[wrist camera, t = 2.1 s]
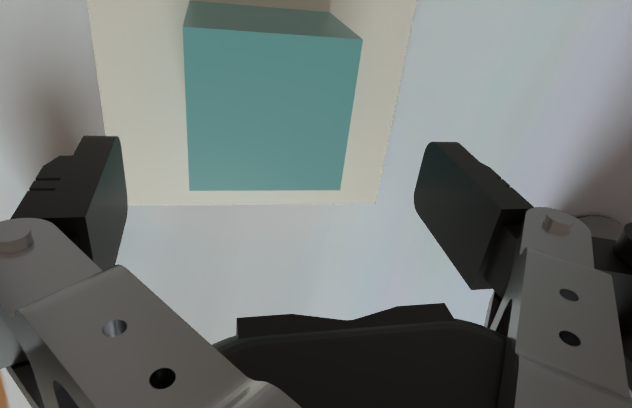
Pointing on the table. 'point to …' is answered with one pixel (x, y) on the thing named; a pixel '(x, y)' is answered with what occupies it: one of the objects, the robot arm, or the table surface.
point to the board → (170, 102)
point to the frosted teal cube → (267, 97)
